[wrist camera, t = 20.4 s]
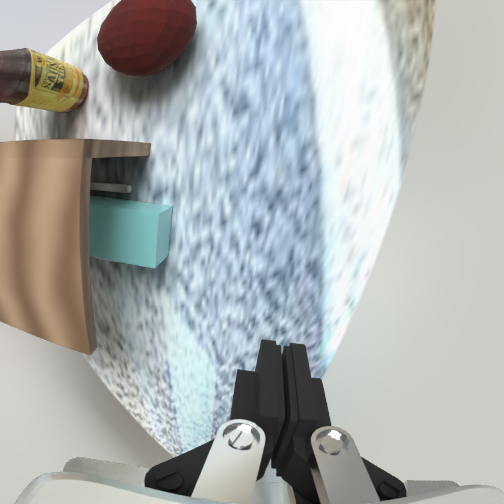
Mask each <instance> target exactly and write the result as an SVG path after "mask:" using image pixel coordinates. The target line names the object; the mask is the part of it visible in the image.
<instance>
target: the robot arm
mask: <svg viewBox="0 0 504 504" xmlns="http://www.w3.org/2000/svg"><path fill="white" fill-rule="evenodd" d="M14 504H504V492H503V491H502V490H500V489H498V488H496V487H492V486H486V485H464V486H459V485H458V484H457V483H455V482H453V481H411V480H407V481H406V482H405V483H402V482H401V481H400V480H399V479H398V478H396V477H394V476H392V475H391V474H389V473H387V472H386V471H384V470H382V469H380V468H379V467H377V466H375V465H374V464H372V463H370V462H369V461H367V460H366V459H364V458H362V457H361V456H360V454H359V452H358V449H357V447H356V445H355V443H354V440H353V439H352V437H351V435H350V434H349V433H347V432H346V431H345V430H343V429H341V428H338V427H334V426H331V421H330V417H329V412H328V407H327V402H326V397H325V392H324V388H323V383H322V380H321V379H320V378H311V374H310V368H309V363H308V357H307V352H306V347H305V345H304V344H296V343H290V345H289V346H285V347H284V350H283V354H282V353H281V345H276V341H271V340H264V339H262V340H261V344H260V349H259V354H258V359H257V364H256V369H255V372H254V371H246V370H239V369H238V370H237V376H236V382H235V388H234V395H233V402H232V409H231V416H230V421H228V422H225V423H224V424H223V425H221V427H220V428H219V430H218V432H217V434H216V437H215V439H214V440H212V441H209V442H207V443H205V444H203V445H201V446H199V447H197V448H195V449H193V450H190V451H188V452H186V453H184V454H182V455H179V456H177V457H175V458H172V459H170V460H168V461H166V462H163V463H160V464H158V465H156V466H154V467H152V468H150V469H149V468H140V466H139V465H132V464H124V463H116V462H108V461H102V460H96V459H90V458H82V457H77V458H73V459H71V460H70V461H68V462H67V463H66V464H65V466H64V469H63V472H52V473H46V474H43V475H40V476H39V477H37V478H35V479H34V480H33V481H32V482H31V483H30V484H29V485H28V486H27V487H26V488H25V489H24V490H23V492H22V493H21V495H20V496H19V497H18V499H17V500H16V502H15V503H14Z"/></svg>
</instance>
